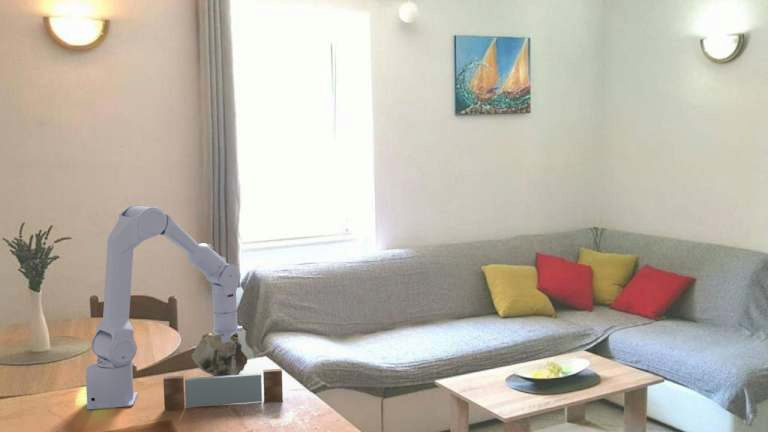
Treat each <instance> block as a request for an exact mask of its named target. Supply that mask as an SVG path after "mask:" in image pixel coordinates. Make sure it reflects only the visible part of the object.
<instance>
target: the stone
mask: <svg viewBox="0 0 768 432" xmlns="http://www.w3.org/2000/svg"><path fill="white" fill-rule="evenodd" d="M221 335H222V336H225V334H219V335H216V334H214V335H212V336H209V335H207V336H205V337H204V338H202V339H200V341H199V342H198V343H197V345H196V346H195V350H194V352H193V353H192V354H191V359H192V360H193V361H194V363H195V364H196V366H197V367H198V368H199V369H200V370H201V371H202V372H205V373H207V374H210V375H212V377H213V376H227V375H240V373H241V372H243V371H244V368H245V366H246V365H247V363H248V357H247V355H246V353H244V352H243V350H242V348H243V347H242V346H243V345H242V343H241V341H240V340H239V337H238V338H237V337H234V336H233V337H230V341H229V342H227V343H223V344H222V343H221Z"/></svg>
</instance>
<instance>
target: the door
mask: <svg viewBox="0 0 768 432" xmlns="http://www.w3.org/2000/svg"><path fill="white" fill-rule="evenodd" d="M262 389H263V388H262V373H261V372H260V373H259V372H257V373H256V372H255V373H245V374H244V373H243V374H238V375H227V376H213V375H212V376H202V377H188V378H187V377H186V378H185V377H184V397H185V407H186V408H195V407H206V406H207V407H209V406H220V405H221V406H222V405H223V406H224V405H234V404H247V403H258V402H260V403H261V402H263V391H262Z"/></svg>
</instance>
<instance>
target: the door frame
mask: <svg viewBox="0 0 768 432" xmlns="http://www.w3.org/2000/svg"><path fill="white" fill-rule="evenodd" d="M262 372H263V374H262V375H263V403H264V404H268V403H269V404H270V403H280V402H281V403H282V402H283V401H284V398H283V395H284V394H283V393H284V392H283V368H270V369H263V371H262ZM162 379H163V382H162V383H163V400H164V401H163V402H164V403H163V404H164V412H166V411H167V412H168V411H180V410H181V411H182V410H185V407H186V403H185V377H184V375H171V376H169V375H167V376H164V377H163V378H162Z"/></svg>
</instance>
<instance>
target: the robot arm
mask: <svg viewBox="0 0 768 432" xmlns="http://www.w3.org/2000/svg"><path fill="white" fill-rule="evenodd" d="M159 235H161V236H164V237H165V238H167V239H168V240H169V241H170V242H172V243H173V244H174V245H176V246H177V247H178V248H179V249H181V250H182V251H184V252H185V253H186V254H187V258H188V260H187V261H189V263H190V264H191V265H192V266H194V267H195V268H196V269H197V270H199V271H200V272H201V273H203V275H205V277H206V279H207V282H208V283H211V288H212V289H211V294H212V310H213V311H212V312H213V314H212V315H213V329H212V332H213V334H214V335H219V334H225V336H222V335H221V343H222V344H223V343H227V342H229V341H230V337H233V336H234V337H237V338H238V339H239V334H238V333H237V332H241V331H243V325H238V306H237V305H238V304H237V303H238V302H237V291H238V288H237V287H238V283H240V280H241V273H239V271H238V268H237V267H236V265H234V264H231V263H227V258H226V257H224V256H221V255H220V254H218V252H216V251H215V250H213V249H214V246H213V245H212V244H210V243H205V242H204V243H203V242H201V243H198V241H196V240H195V239H194V238H193V237H191V235H189V233H187V231H186V230H184V229H183V228H182V226H180V225H179V224H178V223H177V222H176V221H175V220H174V219H173V217H172V216H170V215H169V214H168V213H165V212H164V210H163V209H162V208H159V207H155V206H152V207H151V206H142V205H138V204H132V205H129V206H128V207H126V208H125V209H124V210H122V211H121V212H120V213H119V214H118V220H117V222H116V224H115V225H114V227H113V229H112V230H111V232H110V234H108V238H107V248H106V262H105V263H106V264H105V277H104V278H105V279H104V295H103V297H104V299H103V310H102V311H103V313H102V314H103V315H102V320H100V321H99V322H98V323H97V325H96V331H95V333H94V335H93V337H92V339H91V344H90V347H91V351H92V352H93V354H94V355H95V356H97V360H96V363H92V364H91V363H90V364H88V365H87V368H86V372H85V388H86V389H85V391H86V404H87V406H86V410H99V409H112V408H113V409H114V408H124V407H125V408H126V407H127V408H128V407H133V406H134V403H135V402H136V399H137V396H138V392H137V391H134V378H133V376H134V375H133V359H134V358H135V356H136V354H137V350H138V345H137V343H136V341H135V339H134V338H135V337H134V328H133V326H132V324H131V321H130V312H131V311H130V310H131V309H130V308H131V294H132V293H131V292H132V291H131V290H132V277H133V276H132V275H133V262H134V261H133V258H134V250H135V248H136V247H138V246H139V245H140V244H142V243H143V242H144V241H147V240H148V239H151V238H154V237H157V236H159Z"/></svg>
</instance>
